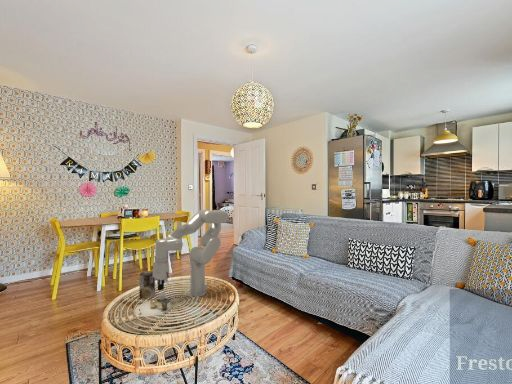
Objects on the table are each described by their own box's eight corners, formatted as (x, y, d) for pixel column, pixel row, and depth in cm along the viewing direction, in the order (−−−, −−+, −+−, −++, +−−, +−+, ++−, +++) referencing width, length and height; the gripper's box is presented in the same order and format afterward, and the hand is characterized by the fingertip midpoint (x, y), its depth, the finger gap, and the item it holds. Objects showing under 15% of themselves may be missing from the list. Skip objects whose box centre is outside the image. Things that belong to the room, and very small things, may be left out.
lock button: (162, 298, 153) (162, 292, 153) (166, 299, 151) (166, 293, 151) (157, 300, 150) (157, 294, 150) (161, 302, 148) (161, 295, 148)
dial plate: (156, 299, 158) (156, 294, 158) (178, 307, 148) (178, 302, 148) (127, 312, 141) (127, 307, 141) (149, 322, 131) (149, 316, 131)
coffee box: (155, 294, 164) (155, 270, 164) (154, 299, 158) (154, 274, 158) (140, 296, 161) (140, 272, 161) (139, 300, 155) (139, 275, 155)
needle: (148, 307, 143) (148, 301, 143) (153, 304, 147) (153, 298, 147) (164, 311, 139) (165, 304, 139) (169, 308, 143) (169, 302, 142)
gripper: (148, 258, 150) (147, 288, 150) (164, 263, 143) (163, 294, 143) (158, 256, 157) (157, 285, 157) (175, 260, 149) (174, 290, 149)
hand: (160, 289), depth 150 cm, fingers closed
